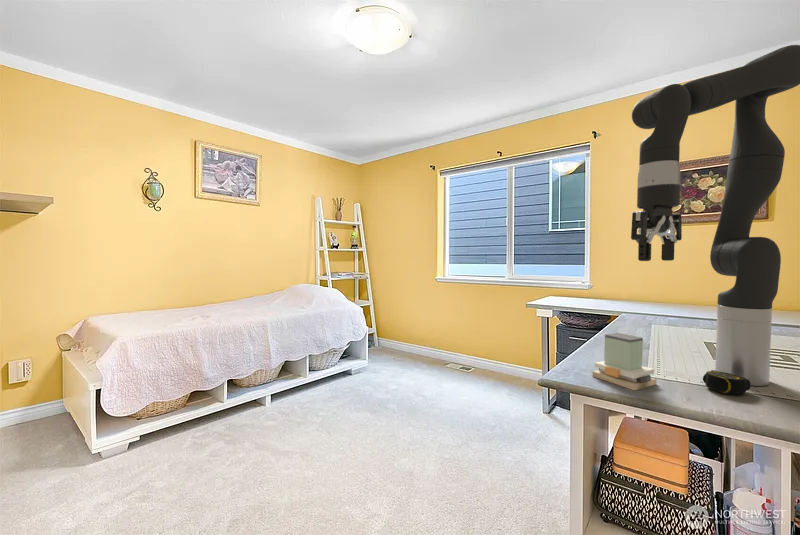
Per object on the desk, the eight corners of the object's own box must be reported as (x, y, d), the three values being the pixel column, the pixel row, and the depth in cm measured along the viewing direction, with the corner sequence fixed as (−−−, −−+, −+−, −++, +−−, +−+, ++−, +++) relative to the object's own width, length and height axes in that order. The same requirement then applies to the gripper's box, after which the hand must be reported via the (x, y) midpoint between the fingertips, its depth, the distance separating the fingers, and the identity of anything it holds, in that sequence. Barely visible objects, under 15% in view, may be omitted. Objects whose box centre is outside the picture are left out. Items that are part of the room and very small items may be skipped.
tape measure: (752, 394, 77) (752, 376, 76) (737, 400, 73) (738, 382, 73) (712, 383, 83) (712, 367, 82) (697, 389, 79) (697, 372, 79)
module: (616, 361, 88) (617, 332, 88) (642, 368, 83) (642, 337, 83) (604, 363, 86) (604, 334, 86) (629, 371, 81) (630, 340, 81)
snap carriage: (614, 366, 90) (614, 358, 90) (654, 378, 82) (654, 368, 82) (592, 371, 87) (592, 363, 87) (631, 384, 78) (631, 374, 78)
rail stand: (613, 371, 91) (613, 361, 91) (656, 384, 82) (656, 373, 82) (592, 376, 87) (592, 366, 87) (634, 390, 78) (634, 379, 78)
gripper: (657, 179, 71) (655, 261, 72) (696, 185, 78) (694, 260, 78) (620, 185, 78) (618, 261, 79) (658, 190, 84) (657, 260, 85)
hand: (656, 260), depth 78 cm, fingers open, 8 cm apart
